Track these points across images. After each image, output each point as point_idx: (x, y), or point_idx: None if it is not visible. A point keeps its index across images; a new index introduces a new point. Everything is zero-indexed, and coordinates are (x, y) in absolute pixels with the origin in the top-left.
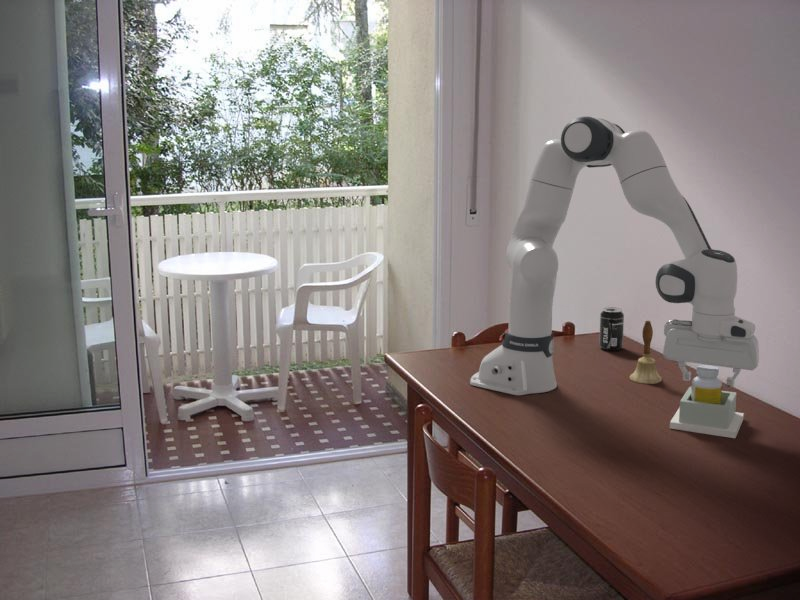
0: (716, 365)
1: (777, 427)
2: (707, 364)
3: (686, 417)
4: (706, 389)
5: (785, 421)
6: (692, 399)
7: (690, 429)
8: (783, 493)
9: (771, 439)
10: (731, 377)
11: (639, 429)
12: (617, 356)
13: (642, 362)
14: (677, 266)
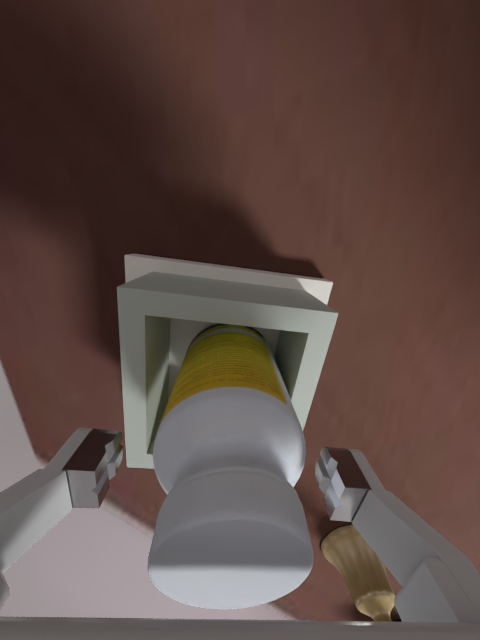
0: (124, 625)
1: (46, 376)
2: (235, 622)
3: (288, 292)
4: (228, 383)
5: (40, 419)
6: (279, 373)
7: (267, 271)
8: None
9: (34, 281)
10: (73, 504)
11: (414, 241)
12: None
13: (387, 592)
14: None
